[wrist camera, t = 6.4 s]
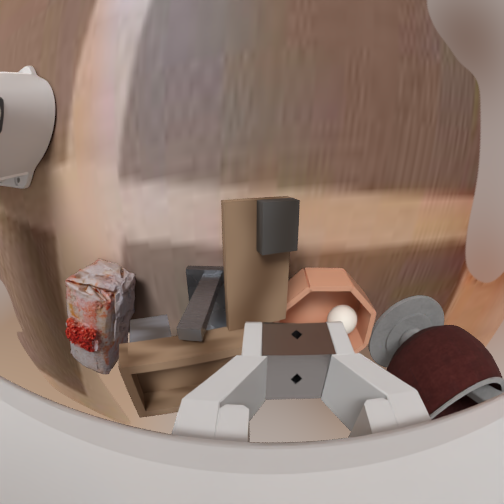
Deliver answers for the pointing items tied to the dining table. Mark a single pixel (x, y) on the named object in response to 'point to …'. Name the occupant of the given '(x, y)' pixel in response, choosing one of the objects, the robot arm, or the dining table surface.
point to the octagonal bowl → (329, 301)
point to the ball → (343, 317)
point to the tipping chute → (236, 302)
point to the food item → (99, 313)
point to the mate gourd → (434, 357)
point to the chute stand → (203, 302)
